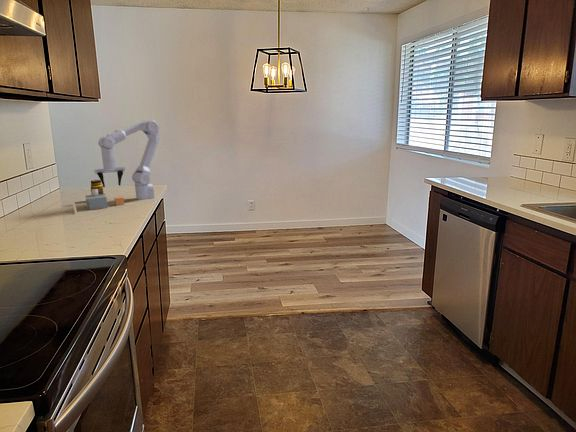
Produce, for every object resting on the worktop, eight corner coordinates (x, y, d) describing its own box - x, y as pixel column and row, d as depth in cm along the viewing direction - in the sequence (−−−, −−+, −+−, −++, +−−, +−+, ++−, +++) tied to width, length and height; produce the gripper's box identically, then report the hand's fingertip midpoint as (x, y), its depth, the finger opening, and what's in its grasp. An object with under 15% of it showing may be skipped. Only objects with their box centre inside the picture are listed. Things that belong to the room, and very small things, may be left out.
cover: (105, 204, 229) (103, 187, 227) (107, 207, 221) (105, 190, 219) (86, 206, 225) (84, 188, 223) (88, 210, 217) (85, 192, 215)
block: (123, 203, 231) (122, 196, 230) (124, 205, 227) (123, 197, 226) (115, 204, 229) (114, 197, 228) (116, 206, 226) (115, 198, 225)
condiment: (103, 203, 237) (100, 181, 234) (87, 203, 236) (83, 182, 233) (106, 200, 244) (104, 179, 241) (91, 201, 243) (88, 179, 240)
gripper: (94, 162, 218) (97, 188, 222) (124, 159, 225) (127, 185, 228) (92, 160, 225) (96, 186, 228) (122, 158, 231) (125, 183, 235)
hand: (111, 186), depth 229 cm, fingers open, 7 cm apart
